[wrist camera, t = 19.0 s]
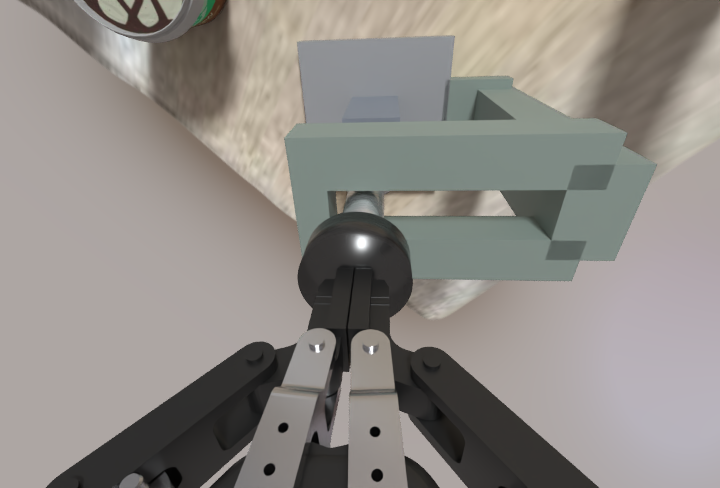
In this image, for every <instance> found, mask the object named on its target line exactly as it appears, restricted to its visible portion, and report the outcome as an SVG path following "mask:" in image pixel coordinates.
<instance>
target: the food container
mask: <svg viewBox="0 0 720 488" xmlns="http://www.w3.org/2000/svg"><path fill="white" fill-rule="evenodd" d="M74 1H75V2H76V3H77V4H78V6H79V7H80V8H82V9H83V10H84V11H85V12H86V13H87V14H88V15H89V16H91V17H92V18H93V19H95V20H96V21H98V22H99V23H100V24H102V25H104V26H105V27H107V28H108V29H110V30H112V31H114V32H116V33H118V34H121V35H123V36H126V37H129V38H132V39H136V40H139V41H144V42H150V43H161V42H167V41H171V40H173V39H176V38H178V37H180V36H181V35H183V34H184V33H186V32H187V31H188V30H189V29H190V28H191V27H194V26H199V25H202V24H205V23H208V22H210V21H212V20H213V19H215V18H216V17H217V16H218V15H219V13H220V12H221V10H222V9H223V7H224V4H225V2H226V0H74Z"/></svg>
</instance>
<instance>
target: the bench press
mask: <svg viewBox="0 0 720 488" xmlns="http://www.w3.org/2000/svg"><path fill="white" fill-rule="evenodd" d="M454 37H455V36H452V35H451V36H424V37H397V38H369V39H342V40H315V41H299V42H297V46H298V55H299V64H300V72H301V81H302V90H303V99H304V107H305V116H306V124H296V125H295V126H294V128H293V129H292V130H291V131H290V132H289V133H288V134H287V136H286V137H285V138H284V140H285V146H286V153H287V160H288V166H289V173H290V179H291V186H292V193H293V199H294V206H295V213H296V219H297V226H298V232H299V239H300V245H301V252H302V257H303V255H304V252H305V249H306V246H307V244H308V241H309V238H310V236H311V234H312V233H313V231H314V230H315V229H316V228H317V226H318V225H320V224H321V223H322V222H323V221H325V220H326V219H328V218H330V217H332V216H334V215H337V204H336V191H456V190H500V192H501V193H502V195H503V196H504V198H505V199H506V201H507V202H508V204H509V206H510V207H511V209H512V210H513V212H514V213H515V215H516V216H384V218H385V219H386V220H388V221H390V222H391V223H392V224H394V225H395V226H396V227H397V228H398V229H399V230H400V231H401V232H402V234H403V235H404V237H405V239H406V240H407V243H408V246H409V250H410V258H411V268H412V279H462V280H527V281H530V280H531V281H572V279H573V276H574V274H575V271H576V268H577V266H578V263H579V261H580V260H587V261H588V260H589V261H614V260H615V258H616V256H617V254H618V252H619V249H620V247H621V245H622V242H623V240H624V238H625V235H626V233H627V231H628V229H629V227H630V225H631V222H632V220H633V218H634V215H635V213H636V211H637V208H638V207H639V204H640V202H641V200H642V198H643V195H644V192H645V191H646V189H647V186H648V184H649V182H650V179H651V177H652V175H653V173H654V170H655V168H656V166H657V164H656V163H654V162H652V161H650V160H648V159H647V158H645V157H643V156H641V155H639V154H637V153H635V152H634V151H632V150H630V149H628V148H626V147H624V146H623V144H624V141H625V139H626V136H627V132H625V131H623V130H621V129H619V128H616V127H614V126H612V125H610V124H608V123H606V122H604V121H602V120H599V119H597V118H576V119H572V118H570V117H568V116H566V115H565V114H563V113H561V112H559V111H557V110H555V109H553V108H552V107H550V106H548V105H546V104H544V103H542V102H540V101H539V100H537V99H535V98H533V97H531V96H529V95H527V94H525V93H524V92H522V91H520V90H518V89H516V88H514V87H512V84H513V78H512V77H509V76H484V77H451V68H452V58H453V48H454ZM376 96H398V104H399V112H400V122H360V123H342V118H343V116H344V113H345V111H346V109H347V107H348V105H349V103H350V101H351V98H352V97H376Z"/></svg>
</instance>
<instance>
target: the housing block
mask: <svg viewBox="0 0 720 488" xmlns="http://www.w3.org/2000/svg"><path fill="white" fill-rule="evenodd" d="M360 122H400V112H399V104H398V96H376V97H352V98H351V101H350V103H349V105H348V107H347V109H346V111H345V113H344V116H343V118H342V123H360Z"/></svg>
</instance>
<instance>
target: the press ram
mask: <svg viewBox="0 0 720 488" xmlns="http://www.w3.org/2000/svg"><path fill="white" fill-rule="evenodd" d="M388 192H389V191H348V193H347V197H346V202H345V206H344V210H343V213H340V214H337V215H334V216H332V217H330V218H328V219H326V220H325V221H323V222H322V223H321V224H320V225H318V226H317V228H316V229H315V230H314V231H313V233H312V234H311V236H310V238H309V241H308V244H307V246H306V249H305V252H304V255H303V257H302V260H301V263H300V266H299V270H298V285H299V288H300V291H301V293H302V295H303V297H304V299H305V300H306V302H307V303H308V304H309V305H310V306H311V307H312V308H313V306H314V302H315V298H316V294H317V290H318V287H319V285H320V284H321V283H322V282H323V281H324V280H325V279H335V277H336V272H337V268H338V267H345V268H372V277H373V279H375V280H385V282H386V283H387V285H388V286H389V314H390V317H392V316H393V315H395V314H396V313H397V312H398V311H400V310H401V309H402V308H403V307H404V306H405V304H406V303H407V301H408V299H409V297H410V295H411V292H412V286H413V279H412V268H411V258H410V250H409V246H408V243H407V240H406V239H405V237H404V235H403V234H402V232H401V231H400V230H399V229H398V228H397V227H396V226H395V225H394V224H392V223H391V222H390V221H388V220H386V219H385V218H384V195H385V194H386V193H388Z"/></svg>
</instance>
